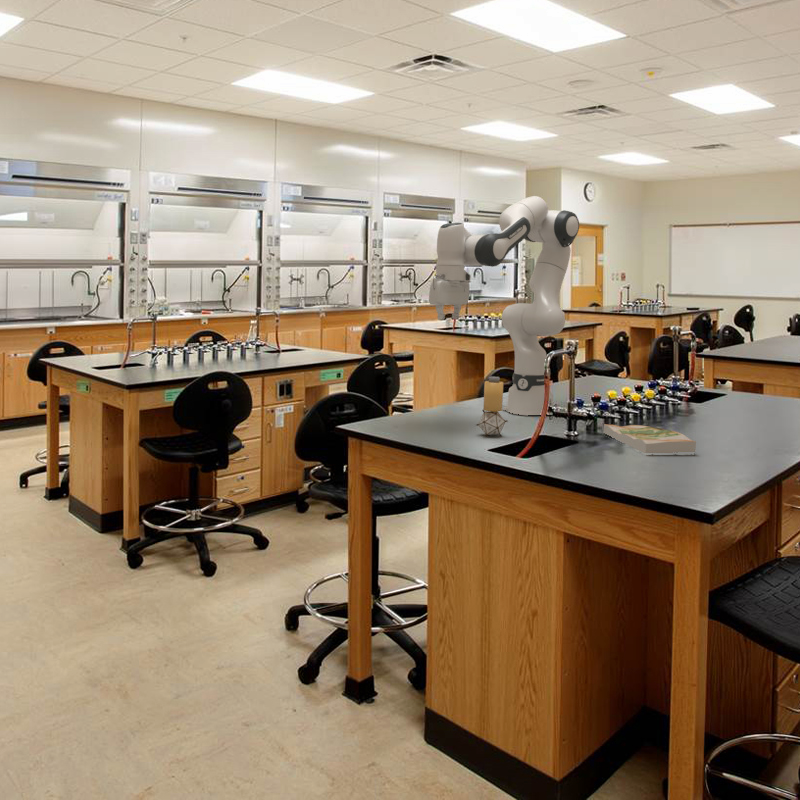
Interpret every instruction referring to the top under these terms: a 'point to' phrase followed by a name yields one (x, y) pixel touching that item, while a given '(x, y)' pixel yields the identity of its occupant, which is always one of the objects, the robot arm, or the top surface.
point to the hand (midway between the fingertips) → (448, 319)
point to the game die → (491, 423)
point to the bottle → (493, 394)
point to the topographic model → (651, 439)
